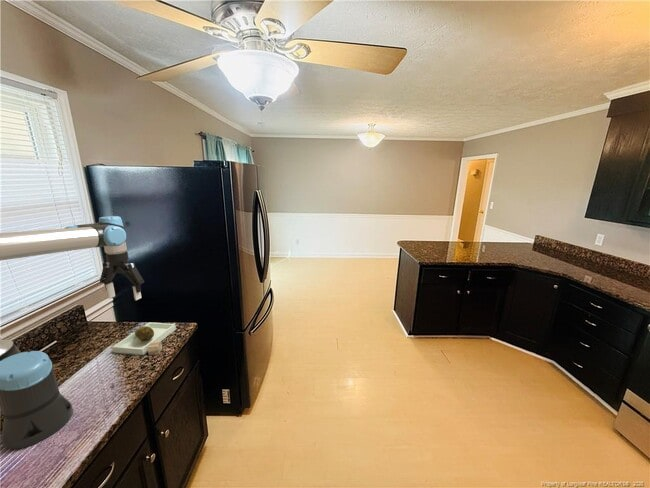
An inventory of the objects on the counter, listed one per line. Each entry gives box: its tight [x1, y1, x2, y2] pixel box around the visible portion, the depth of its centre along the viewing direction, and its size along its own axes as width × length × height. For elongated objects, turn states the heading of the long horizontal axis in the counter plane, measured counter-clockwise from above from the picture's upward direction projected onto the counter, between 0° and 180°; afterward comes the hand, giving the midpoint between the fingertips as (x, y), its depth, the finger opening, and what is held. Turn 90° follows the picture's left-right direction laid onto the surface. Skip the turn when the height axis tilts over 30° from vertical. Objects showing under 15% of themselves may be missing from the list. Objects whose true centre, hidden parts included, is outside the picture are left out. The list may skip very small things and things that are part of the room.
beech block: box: [147, 341, 163, 356], centre depth 117 cm, size 4×4×4 cm
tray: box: [111, 322, 177, 356], centre depth 126 cm, size 21×15×3 cm
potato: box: [134, 325, 154, 342], centre depth 125 cm, size 8×13×8 cm, turn 24°
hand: (125, 298), depth 118 cm, fingers open, 13 cm apart
